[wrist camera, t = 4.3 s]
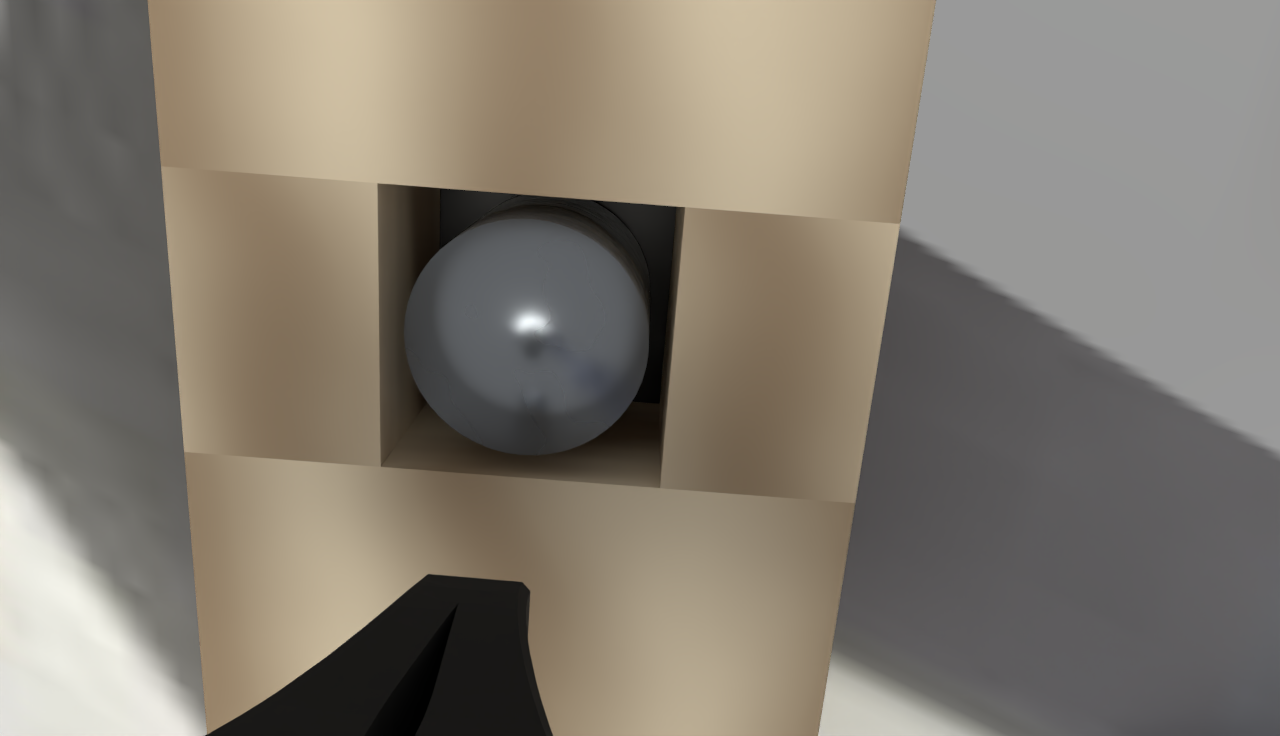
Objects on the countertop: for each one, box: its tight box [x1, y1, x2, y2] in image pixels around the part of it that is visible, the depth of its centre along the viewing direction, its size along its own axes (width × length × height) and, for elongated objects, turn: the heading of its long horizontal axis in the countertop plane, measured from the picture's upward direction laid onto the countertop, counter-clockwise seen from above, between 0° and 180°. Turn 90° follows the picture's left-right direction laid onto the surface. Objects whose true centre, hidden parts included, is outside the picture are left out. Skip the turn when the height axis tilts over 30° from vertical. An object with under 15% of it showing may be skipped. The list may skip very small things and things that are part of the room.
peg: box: [404, 195, 650, 455], centre depth 17 cm, size 4×4×4 cm
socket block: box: [148, 0, 936, 736], centre depth 19 cm, size 12×24×4 cm, turn 176°
